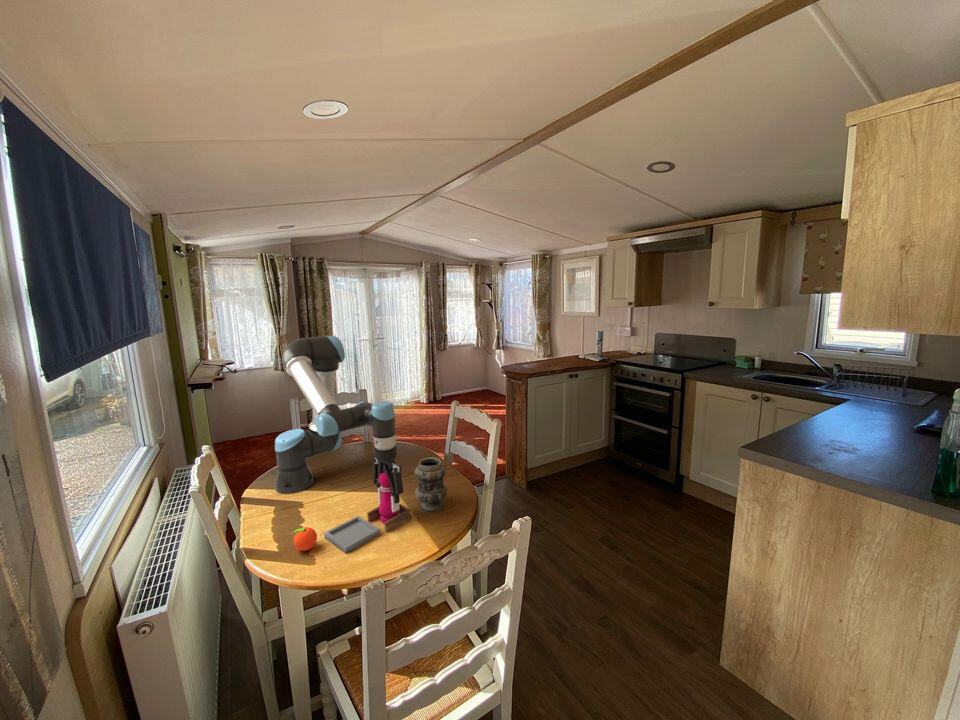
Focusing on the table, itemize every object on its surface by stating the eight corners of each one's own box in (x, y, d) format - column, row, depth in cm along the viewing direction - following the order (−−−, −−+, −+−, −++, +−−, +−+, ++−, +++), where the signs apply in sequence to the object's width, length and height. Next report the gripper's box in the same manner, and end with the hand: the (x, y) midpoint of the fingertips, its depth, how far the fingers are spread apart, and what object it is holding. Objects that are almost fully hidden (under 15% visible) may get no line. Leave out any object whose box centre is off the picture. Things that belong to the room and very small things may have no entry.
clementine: (287, 555, 125) (285, 535, 124) (297, 542, 132) (295, 522, 131) (312, 555, 125) (310, 534, 124) (321, 541, 132) (319, 522, 131)
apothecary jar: (444, 495, 160) (442, 453, 157) (450, 511, 149) (449, 466, 146) (414, 500, 157) (412, 457, 154) (418, 516, 145) (415, 470, 142)
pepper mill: (401, 523, 141) (397, 470, 138) (380, 527, 139) (376, 473, 136) (399, 512, 148) (396, 462, 145) (379, 516, 146) (375, 465, 143)
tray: (324, 538, 134) (324, 532, 134) (358, 520, 144) (357, 515, 143) (345, 553, 126) (345, 548, 125) (380, 534, 135) (379, 528, 135)
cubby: (367, 521, 143) (367, 512, 143) (392, 508, 152) (392, 499, 151) (386, 532, 136) (386, 523, 136) (411, 518, 145) (411, 509, 144)
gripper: (359, 443, 143) (364, 502, 146) (394, 456, 130) (398, 521, 134) (377, 437, 148) (381, 494, 152) (412, 449, 136) (415, 511, 140)
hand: (389, 506), depth 143 cm, fingers closed on pepper mill, 7 cm apart
